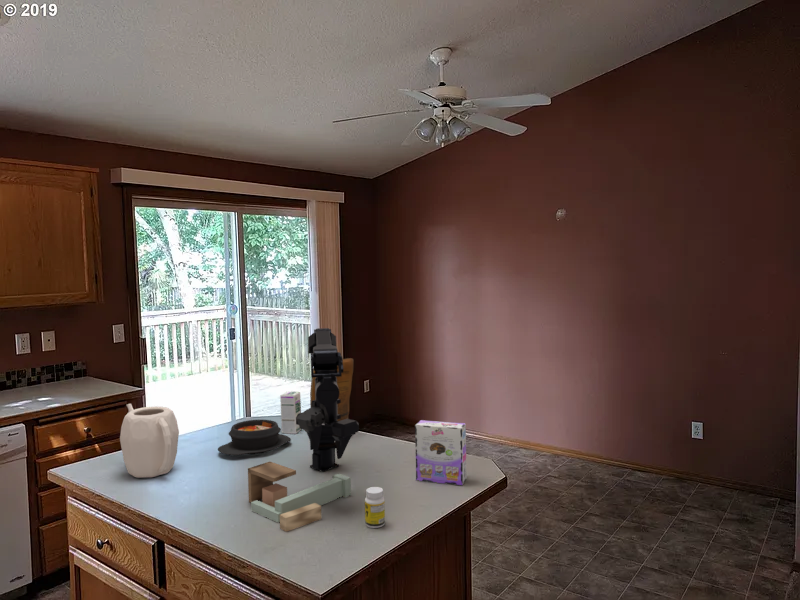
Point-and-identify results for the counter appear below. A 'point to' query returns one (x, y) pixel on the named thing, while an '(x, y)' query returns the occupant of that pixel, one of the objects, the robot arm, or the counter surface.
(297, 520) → the wooden toy brick
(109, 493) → the counter surface
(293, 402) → the syrup box
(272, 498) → the block
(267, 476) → the shelf
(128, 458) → the watering can
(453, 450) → the candy box
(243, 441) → the casserole
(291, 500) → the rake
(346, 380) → the pancake mix bag
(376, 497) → the supplement bottle
